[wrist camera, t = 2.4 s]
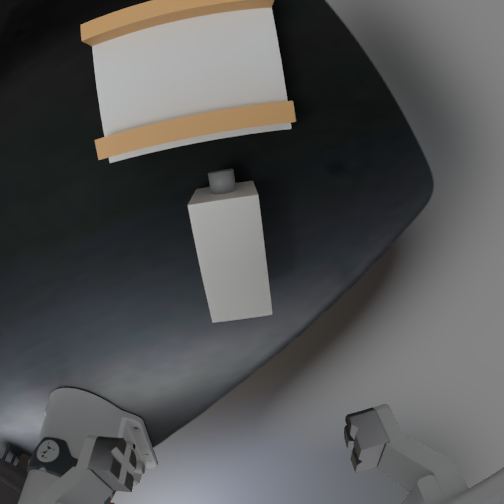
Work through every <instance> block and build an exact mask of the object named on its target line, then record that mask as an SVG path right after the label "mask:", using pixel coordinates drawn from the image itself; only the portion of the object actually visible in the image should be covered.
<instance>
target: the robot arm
mask: <svg viewBox="0 0 504 504" xmlns="http://www.w3.org/2000/svg"><path fill="white" fill-rule="evenodd" d="M44 417H45V419H44V423H43V426H42V429H41V433H40V436H39V440H38V444H37V447H36V448H35V450H34V451H33V453H32V456H31V458H30V459H29V462H28V467H27V472H28V476H27V478H26V481H25V484H24V487H23V490H22V492H21V495H20V498H19V501H18V504H114V503H111V502H110V501H111V500H112V498H113V496H114V494H115V492H116V491H126V492H132V488H133V486H135V485H137V484H138V483H139V482H140V479H141V476H142V474H144V472H145V470H147V469H152V468H155V467H157V464H158V461H157V458H156V456H155V453H154V450H153V447H152V445H151V442H150V439H149V436H148V433H147V430H146V427H145V425H144V422H143V420H142V419H141V418H140V417H138V416H136V415H133V414H131V413H128V412H125V411H122V410H120V409H119V408H117V407H115V406H114V405H112V404H111V403H109V402H108V401H106V400H104V399H102V398H100V397H98V396H96V395H94V394H91V393H89V392H86V391H83V390H79V389H74V388H59V389H56V390H54V391H53V392H52V393H51V394H50V396H49V402H48V408H47V409H46V410H45V413H44ZM345 421H346V424H347V425H346V426H345V428H344V437H345V442H346V446H347V449H348V450H349V451H351V452H352V454H351V462H352V465H353V468H354V471H355V473H357V472H361V471H364V470H368V469H372V468H375V467H377V468H378V469H379V470H381V471H382V472H383V473H384V474H386V475H387V476H388V477H390V478H391V479H392V480H394V481H395V482H396V483H398V484H399V485H401V486H402V487H403V488H405V489H406V490H407V491H409V492H410V493H409V494H408V496H407V497H406V498H405V500H404V501H403V503H402V504H504V467H503V468H502V469H500V470H499V471H497V472H496V473H494V474H492V475H491V476H490V477H488V478H486V479H484V480H483V481H481V482H479V483H478V484H476V485H474V486H472V487H471V488H468V486H467V484H466V483H465V480H464V479H463V477H462V474H461V472H460V471H459V469H458V467H457V465H456V463H455V462H454V461H452V460H450V459H448V458H446V457H445V456H443V455H441V454H439V453H437V452H435V451H433V450H431V449H430V448H428V447H426V446H424V445H423V444H421V443H419V442H417V441H415V440H413V439H412V438H410V437H408V436H407V437H404V436H403V434H402V432H401V430H400V428H399V426H398V424H397V422H396V420H395V418H394V416H393V414H392V411H391V409H390V408H389V406H388V405H387V404H384V405H380V406H377V407H374V408H369V409H366V410H363V411H359V412H356V413H352V414H348V415H347V416H346V419H345Z"/></svg>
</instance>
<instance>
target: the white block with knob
mask: <svg viewBox="0 0 504 504" xmlns="http://www.w3.org/2000/svg"><path fill="white" fill-rule="evenodd" d="M208 177H209V184H210V187H205V188H199V189H196V190H195V192H194V194H193V196H192V198H191V200H190V202H189V203H188V210H189V215H190V221H191V226H192V231H193V236H194V241H195V246H196V251H197V255H198V260H199V265H200V270H201V274H202V279H203V283H204V288H205V292H206V297H207V301H208V306H209V310H210V314H211V318H212V323H215V322H223V321H231V320H239V319H246V318H254V317H261V316H268V315H273V314H272V305H271V296H270V288H269V279H268V271H267V262H266V254H265V245H264V237H263V229H262V220H261V212H260V204H259V196H258V193H257V190H256V188H255V185H254V183H253V181H246V182H239V183H235V177H234V170H233V169H222V170H216V171H212V172H209V173H208Z"/></svg>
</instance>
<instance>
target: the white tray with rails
mask: <svg viewBox="0 0 504 504" xmlns="http://www.w3.org/2000/svg"><path fill="white" fill-rule="evenodd" d="M273 2H274V0H152V1H148V2H145V3H141V4H138V5H134V6H131V7H128V8H125V9H122V10H119V11H116V12H113V13H110V14H107V15H104V16H102V17H99V18H96V19H94V20H91V21H89V22H86V23H84V24H81V39H82V42H84V43H87V44H89V45H91V46H92V50H93V60H94V69H95V78H96V86H97V93H98V100H99V107H100V113H101V119H102V125H103V131H104V136H105V137H103V138H100V139H97V140H95V145H96V150H97V155H98V160H101V159H104V158H108V157H109V162H110V163H112V162H116V161H120V160H123V159H127V158H131V157H135V156H139V155H143V154H148V153H152V152H156V151H161V150H165V149H170V148H174V147H179V146H184V145H189V144H194V143H199V142H204V141H210V140H216V139H221V138H227V137H234V136H240V135H247V134H254V133H261V132H268V131H276V130H285V129H292V128H291V122H296V118H295V111H294V104H293V101H288V100H287V93H286V87H285V81H284V74H283V68H282V62H281V56H280V50H279V44H278V39H277V33H276V28H275V22H274V17H273V12H272V5H273Z"/></svg>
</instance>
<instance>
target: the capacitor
mask: <svg viewBox="0 0 504 504" xmlns="http://www.w3.org/2000/svg"><path fill="white" fill-rule="evenodd" d="M11 445H12V444H11V443H9V444H8V446H7V449H6V451H5V453H4V455H3V457H2V459H0V504H18V501H19V498H20V495H21V492H22V490H23V487H24V484H25V481H26V478H27V476H28V472H27V467H28V462H29V459H30V458H31V456H29V455H27V454H25V453H22V455H21V456H20V458H19V462H18V464H17V466H14V465H13V463H14V460H15V458H16V454H14V455H13V458H12V460H11V463H9V462H7V461H5V458H6V456H7V453H8V451H9V449H10V447H11Z"/></svg>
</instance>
